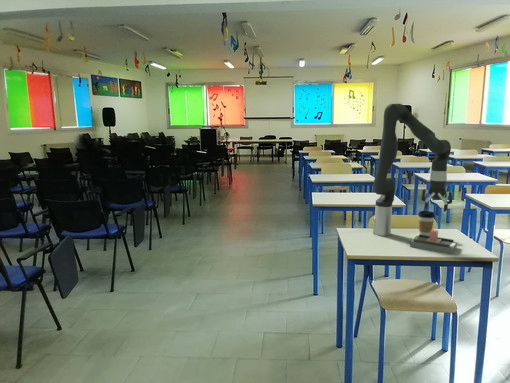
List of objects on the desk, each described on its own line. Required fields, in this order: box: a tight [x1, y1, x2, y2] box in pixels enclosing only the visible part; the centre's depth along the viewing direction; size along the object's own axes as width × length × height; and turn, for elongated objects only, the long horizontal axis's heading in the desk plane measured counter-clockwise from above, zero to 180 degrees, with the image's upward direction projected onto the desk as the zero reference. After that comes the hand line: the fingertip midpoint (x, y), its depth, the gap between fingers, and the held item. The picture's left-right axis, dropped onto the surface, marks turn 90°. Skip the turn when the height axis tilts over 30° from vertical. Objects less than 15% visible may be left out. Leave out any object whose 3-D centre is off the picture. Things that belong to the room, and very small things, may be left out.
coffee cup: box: [417, 210, 435, 236], centre depth 218 cm, size 8×8×15 cm
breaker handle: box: [426, 228, 441, 243], centre depth 201 cm, size 6×7×6 cm
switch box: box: [409, 234, 458, 255], centre depth 202 cm, size 20×12×4 cm, turn 53°
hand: (435, 210), depth 199 cm, fingers open, 8 cm apart
